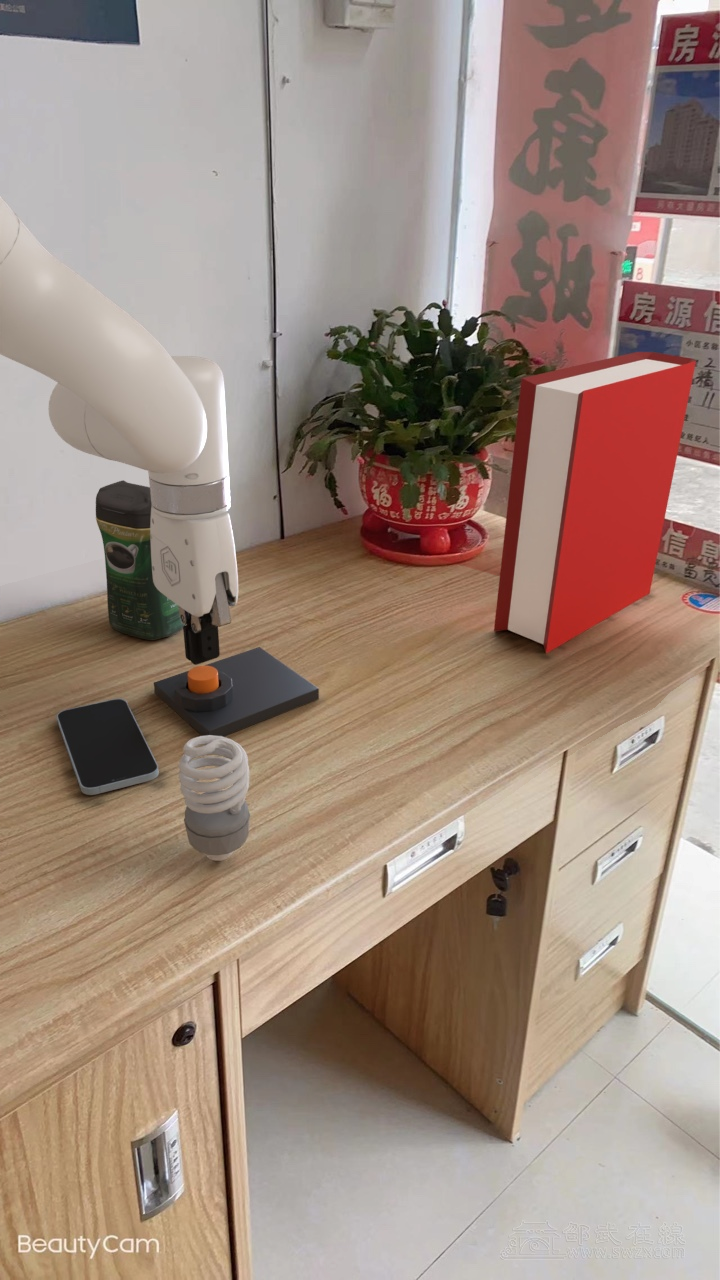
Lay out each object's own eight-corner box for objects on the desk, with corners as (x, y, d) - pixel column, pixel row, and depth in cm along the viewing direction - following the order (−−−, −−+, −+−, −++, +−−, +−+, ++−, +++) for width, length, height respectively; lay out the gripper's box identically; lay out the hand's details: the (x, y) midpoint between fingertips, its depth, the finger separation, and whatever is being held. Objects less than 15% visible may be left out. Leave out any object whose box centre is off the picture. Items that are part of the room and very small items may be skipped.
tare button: (198, 697, 93) (197, 683, 92) (183, 685, 95) (181, 671, 94) (224, 688, 95) (223, 674, 94) (209, 676, 97) (208, 662, 96)
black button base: (208, 742, 90) (207, 718, 89) (154, 693, 98) (151, 670, 97) (319, 699, 98) (319, 675, 97) (259, 656, 106) (259, 634, 105)
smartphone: (124, 696, 96) (161, 771, 84) (125, 703, 96) (162, 778, 85) (54, 711, 93) (82, 791, 81) (55, 719, 93) (83, 799, 82)
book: (545, 653, 109) (583, 390, 94) (493, 631, 114) (521, 378, 99) (654, 590, 126) (701, 359, 111) (605, 573, 131) (643, 350, 116)
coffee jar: (198, 623, 114) (189, 484, 105) (157, 648, 108) (143, 503, 99) (141, 605, 118) (127, 470, 109) (98, 629, 112) (80, 487, 103)
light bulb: (257, 837, 78) (253, 724, 72) (247, 883, 73) (241, 765, 67) (194, 834, 78) (184, 720, 72) (179, 879, 73) (168, 761, 67)
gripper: (119, 479, 88) (138, 641, 96) (194, 523, 77) (207, 700, 86) (186, 466, 92) (198, 622, 101) (266, 506, 82) (271, 676, 90)
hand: (202, 657), depth 93 cm, fingers closed
